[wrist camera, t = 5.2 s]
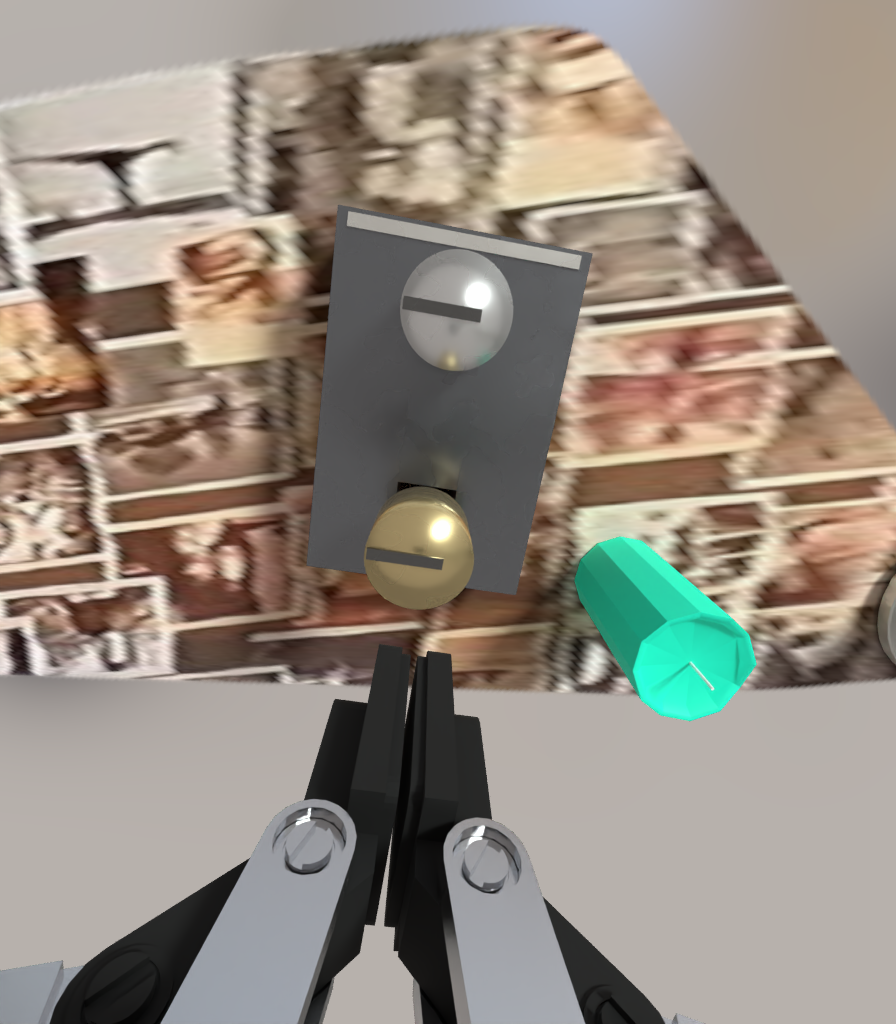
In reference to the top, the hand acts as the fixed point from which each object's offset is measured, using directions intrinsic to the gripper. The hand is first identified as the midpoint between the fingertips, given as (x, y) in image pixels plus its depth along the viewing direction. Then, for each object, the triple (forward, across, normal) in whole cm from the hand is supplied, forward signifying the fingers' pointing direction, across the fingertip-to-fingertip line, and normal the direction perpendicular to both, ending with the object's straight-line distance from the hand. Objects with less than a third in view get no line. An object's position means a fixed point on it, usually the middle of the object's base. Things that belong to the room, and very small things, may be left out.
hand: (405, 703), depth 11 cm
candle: (+21, -14, +4) cm, 26 cm away
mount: (+21, 0, -5) cm, 21 cm away
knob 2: (+17, 0, 0) cm, 17 cm away
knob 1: (+20, 0, -10) cm, 22 cm away
